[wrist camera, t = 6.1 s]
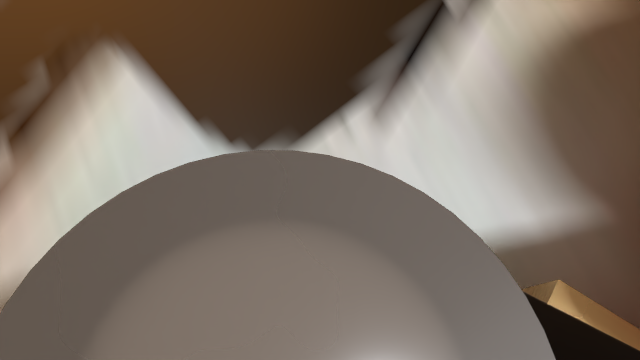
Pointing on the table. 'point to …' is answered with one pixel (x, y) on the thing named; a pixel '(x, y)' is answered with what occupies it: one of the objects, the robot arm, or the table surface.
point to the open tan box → (585, 310)
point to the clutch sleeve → (271, 273)
